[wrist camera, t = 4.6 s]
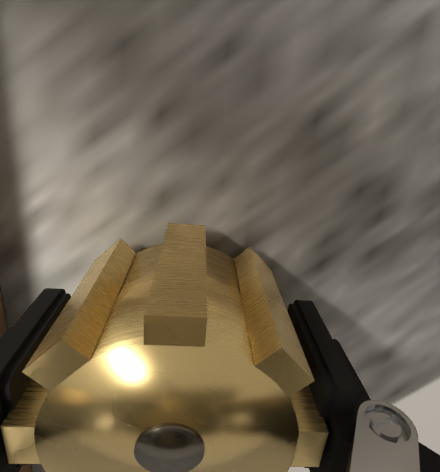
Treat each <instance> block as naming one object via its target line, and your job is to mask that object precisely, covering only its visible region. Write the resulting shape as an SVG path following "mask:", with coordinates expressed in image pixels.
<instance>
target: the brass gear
mask: <svg viewBox="0 0 440 472" xmlns="http://www.w3.org/2000/svg"><path fill="white" fill-rule="evenodd" d="M22 372H23V373H24V374H26V375H27V376H29V377H30V378H31V379H32V380H31V382H30V384H29V385H28V387H27V389H26V390H25V392H24V394H23V395H22V397H21V399H20V400H19V402H18V404H17V405H16V407H15V409H14V410H13V411H11V410H10V412H9V414H8V415H7V417H6V418H5V420H4V422H3V423H2V425H1V431H2V435H3V440H4V444H5V449H6V453H7V458H8V462H9V464H41V465H42V467H43V469H44V470H45V472H287V471H288V470H289V468H290V466H291V467H319V464H320V461H321V458H322V454H323V451H324V448H325V444H326V441H327V437H328V434H329V432H328V429H327V426H326V424H325V421H324V418H323V417H320V415H319V412H318V410H317V407H316V404H315V401H314V399H313V396H312V393H311V390H310V388H309V384H311V383H312V382H314V381H315V380H314V378H313V375H312V373H311V370H310V368H309V365H308V362H307V360H306V357H305V355H304V352H303V350H302V347H301V345H300V342H299V340H298V337H297V334H296V332H295V329H294V327H293V324H292V322H291V319H290V317H289V314H288V312H287V309H286V307H285V304H284V301H283V299H282V296H281V294H280V291H279V289H278V286H277V284H276V281H275V279H274V276H273V273H272V271H271V269H270V268H269V267H268V266H267V265H266V264H265V262H264V261H263V260H262V259H261V258H260V257H259V256H258V255H257V254H256V252H255V251H254V250H253V249H252V248H251V247H248V248H247V249H246V250H245V251H243V252H242V253H241V254H239V255H238V256H237V257H235V258H234V259H233V258H232V257H230V256H229V255H227V254H225V253H223V252H221V251H219V250H217V249H214V248H211V247H208V246H206V226H205V225H190V224H174V223H169V224H168V228H167V231H166V235H165V239H164V242H163V244H160V245H156V246H152V247H149V248H147V249H144V250H142V251H139V252H138V253H136V252H135V251H133V250H132V249H131V248H130V247H129V246H128V245H127V244H126V243H125V242H124V241H123V240H122V239H119V240H118V241H117V242H116V243H115V244H114V245H112V246H111V247H110V248H109V249H108V250H107V251H105V252H104V253H103V254H102V255H101V256H100V257H99V258H97V259H96V260H95V262H94V263H93V265H92V266H91V268H90V269H89V271H88V272H87V274H86V275H85V277H84V278H83V280H82V281H81V283H80V284H79V286H78V288H77V289H76V291H75V292H74V294H73V295H72V297H71V298H70V300H69V301H68V303H67V304H66V306H65V307H64V309H63V310H62V312H61V313H60V315H59V316H58V318H57V319H56V321H55V322H54V324H53V325H52V327H51V328H50V330H49V331H48V333H47V335H46V336H45V338H44V339H43V341H42V342H41V344H40V345H39V347H38V348H37V350H36V351H35V353H34V354H33V356H32V357H31V359H30V360H29V362H28V363H27V365H26V366H25V368H24V369H23V371H22Z"/></svg>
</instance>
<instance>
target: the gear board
mask: <svg viewBox="0 0 440 472" xmlns="http://www.w3.org/2000/svg"><path fill="white" fill-rule="evenodd" d="M6 331H7V324H6V318H5V313H4V307H3V301H2V295H1V290H0V338H1V337H2V336H3V335H4V333H5V332H6ZM19 472H32V468H31V464H28V465H22V467H21V469H20V471H19Z"/></svg>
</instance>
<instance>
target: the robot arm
mask: <svg viewBox="0 0 440 472" xmlns="http://www.w3.org/2000/svg"><path fill="white" fill-rule="evenodd" d="M70 298H71V296H70V294H66V292H65V290H64V289H51V288H46V289H44V290H43V291H42V292H41V294H40V295H39V296H38V297H37V299H36V300H35V301H34V302H33V303H32V305H31V306H30V307H29V308H28V309H27V311H26V312H25V313H24V314H23V316H22V317H21V318H20V319H19V320H18V322H17V323H16V324H15V325H14V326H13V327H11V328H9V329H8V330H7V331H6V332H5V333H4V335H3V336H2V337H1V338H0V472H19V471H20V469H21V467H22V465H28V464H9V462H8V458H7V453H6V449H5V444H4V440H3V435H2V431H1V425H2V423H3V422H4V420H5V418H6V417H7V415H8V414H9V412H10V410H11V411H13V410H14V409H15V407H16V405H17V404H18V402H19V400H20V399H21V397H22V395H23V394H24V392H25V390H26V389H27V387H28V385H29V384H30V382H31V380H32V379H31V378H30V377H29V376H27V375H26V374H24V373H23V372H22V371H23V369H24V368H25V366H26V365H27V363H28V362H29V360H30V359H31V357H32V356H33V354H34V353H35V351H36V350H37V348H38V347H39V345H40V344H41V342H42V341H43V339H44V338H45V336H46V335H47V333H48V331H49V330H50V328H51V327H52V325H53V324H54V322H55V321H56V319H57V318H58V316H59V315H60V313H61V312H62V310H63V309H64V307H65V306H66V304H67V303H68V301H69V300H70ZM288 314H289V317H290V319H291V322H292V324H293V327H294V329H295V332H296V334H297V337H298V340H299V342H300V345H301V347H302V350H303V352H304V355H305V357H306V360H307V362H308V365H309V368H310V370H311V373H312V375H313V378H314V380H315V381H314V382H312V383H311V384H309V388H310V390H311V393H312V396H313V399H314V401H315V404H316V407H317V410H318V412H319V415H320V417H323V418H324V421H325V424H326V426H327V429H328V432H329V434H328V437H327V441H326V444H325V448H324V451H323V454H322V458H321V461H320V464H319V467H305V468H309V469H310V472H440V455H438V454H437V453H435V452H434V451H432V450H430V449H429V448H427V447H426V446H424V445H422V444H421V443H419V442H418V434H417V431H416V428H415V426H414V424H413V422H412V421H411V420H410V419H409V417H408V416H407V415H406V414H405V413H404V412H402V411H401V410H399V409H398V408H397V407H395V406H393V405H391V404H389V403H387V402H383V401H380V400H371V399H370V397H369V396H368V394H367V392H366V390H365V388H364V387H363V385H362V383H361V381H360V379H359V378H358V376H357V374H356V372H355V370H354V369H353V367H352V365H351V363H350V361H349V359H348V358H347V356H346V354H345V352H344V350H343V349H342V347H341V345H340V343H339V342H338V341H337V340H335V339H332V337H331V335H330V334H329V332H328V330H327V328H326V326H325V324H324V322H323V320H322V319H321V317H320V315H319V313H318V311H317V309H316V307H315V305H314V304H313V302H312V301H303V300H296V301H295V302H294V304H290V305H289V307H288Z"/></svg>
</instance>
